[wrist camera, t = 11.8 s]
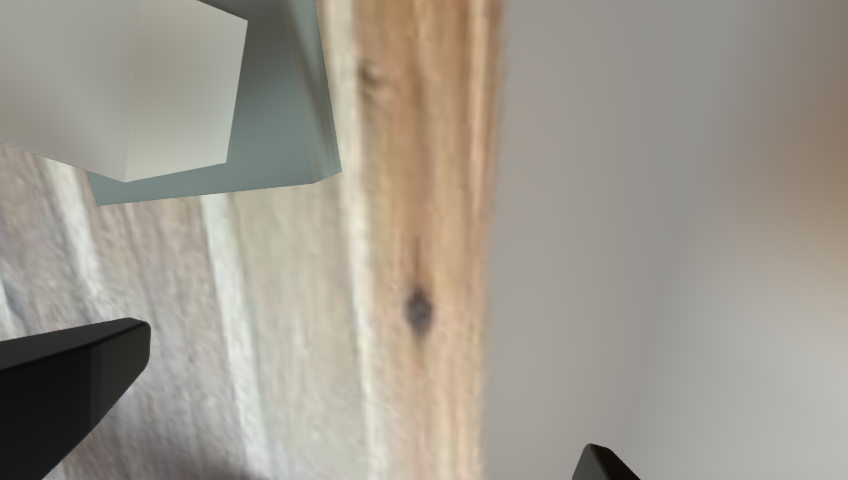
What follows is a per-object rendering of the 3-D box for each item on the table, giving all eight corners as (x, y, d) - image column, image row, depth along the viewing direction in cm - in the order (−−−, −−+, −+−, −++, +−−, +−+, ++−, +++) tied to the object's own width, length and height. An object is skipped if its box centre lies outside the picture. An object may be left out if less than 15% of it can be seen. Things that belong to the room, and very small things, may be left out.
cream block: (248, 20, 15) (142, -22, 10) (225, 162, 17) (124, 182, 12) (111, -21, 15) (-54, -81, 11) (101, 123, 17) (-49, 127, 12)
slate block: (344, 170, 20) (313, 183, 17) (164, 189, 22) (97, 205, 18) (308, -53, 18) (262, -98, 14) (110, -17, 19) (19, -50, 16)
